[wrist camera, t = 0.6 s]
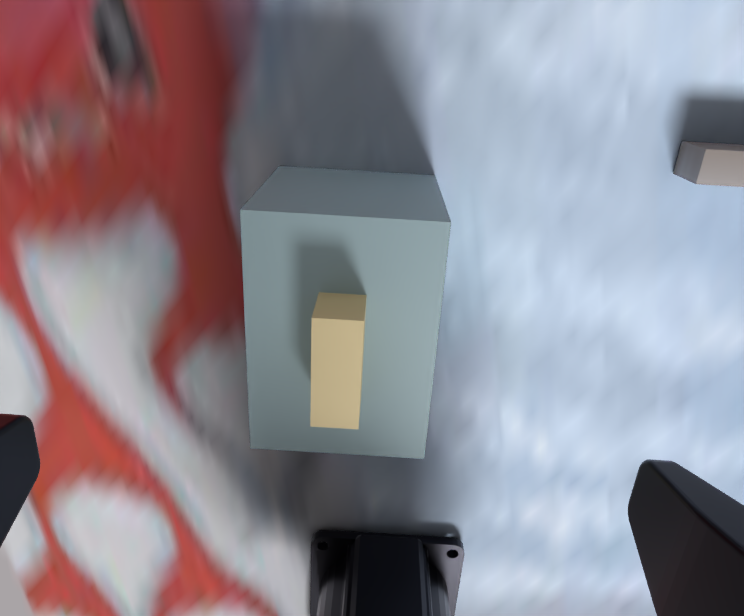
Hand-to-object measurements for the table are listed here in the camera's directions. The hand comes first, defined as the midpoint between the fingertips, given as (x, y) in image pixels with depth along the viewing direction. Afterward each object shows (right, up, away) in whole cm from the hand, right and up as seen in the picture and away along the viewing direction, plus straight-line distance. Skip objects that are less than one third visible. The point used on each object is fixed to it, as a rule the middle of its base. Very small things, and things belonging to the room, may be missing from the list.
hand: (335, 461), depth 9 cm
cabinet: (0, +4, +12) cm, 12 cm away
